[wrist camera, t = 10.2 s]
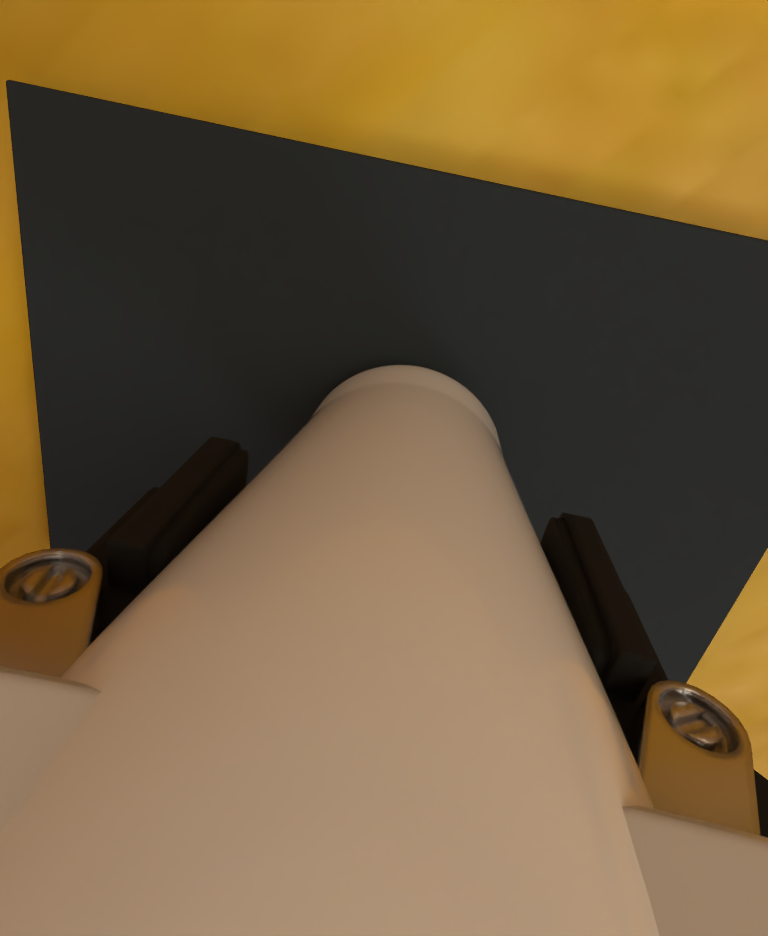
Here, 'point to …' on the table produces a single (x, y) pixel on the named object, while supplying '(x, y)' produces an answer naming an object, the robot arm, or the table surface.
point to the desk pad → (391, 333)
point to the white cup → (343, 712)
